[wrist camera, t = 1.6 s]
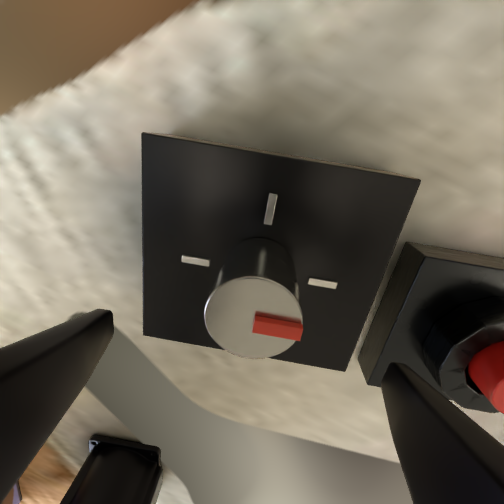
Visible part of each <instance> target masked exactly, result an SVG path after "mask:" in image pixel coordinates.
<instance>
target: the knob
mask: <svg viewBox="0 0 504 504" xmlns="http://www.w3.org/2000/svg"><path fill="white" fill-rule="evenodd" d="M204 320H205V325H206V328H207V330H208V333H209V334H210V336H211V337H212V339H213V340H214V341H215V342H216V343H217V344H218V345H219V346H220V347H222V348H223V349H224V350H226V351H228V352H230V353H232V354H234V355H237V356H240V357H244V358H250V359H263V358H269V357H272V356H276V355H278V354H280V353H282V352H284V351H286V350H287V349H288V348H290V347H291V346H292V345H293V344H294V342H295V341H300V339H301V335H302V332H303V314H302V307H301V301H300V295H299V288H298V282H297V276H296V269H295V264H294V261H293V259H292V256H291V255H290V253H289V252H288V251H287V250H286V249H285V248H284V247H283V246H282V245H280V244H279V243H277V242H275V241H273V240H270V239H266V238H251V239H247V240H244V241H242V242H240V243H238V244H236V245H235V246H234V247H233V248H232V249H231V250H230V251H229V252H228V254H227V256H226V258H225V260H224V262H223V265H222V267H221V269H220V272H219V274H218V276H217V279H216V281H215V283H214V286H213V288H212V290H211V293H210V295H209V297H208V300H207V302H206V305H205V309H204Z"/></svg>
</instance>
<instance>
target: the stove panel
mask: <svg viewBox="0 0 504 504" xmlns="http://www.w3.org/2000/svg"><path fill="white" fill-rule="evenodd" d="M141 139H142V256H143V335H145V336H150V337H156V338H161V339H167V340H172V341H178V342H183V343H189V344H194V345H200V346H205V347H211V348H216V349H222V350H224V349H223V348H222V347H220V346H219V345H218V344H217V343H216V342H215V341H214V340H213V339H212V337H211V336H210V334H209V333H208V330H207V328H206V325H205V320H204V309H205V305H206V302H207V300H208V297H209V295H210V293H211V290H212V288H213V286H214V283H215V281H216V279H217V276H218V274H219V272H220V269H221V267H222V265H223V262H224V260H225V258H226V256H227V254H228V252H229V251H230V250H231V249H232V248H233V247H234V246H235V245H236V244H238V243H240V242H242V241H244V240H247V239H251V238H266V239H270V240H273V241H275V242H277V243H279V244H280V245H282V246H283V247H284V248H285V249H286V250H287V251H288V252H289V253H290V255H291V256H292V259H293V261H294V264H295V269H296V276H297V282H298V288H299V295H300V301H301V307H302V314H303V332H302V335H301V339H300V341H295V342H294V344H293V345H292V346H291V347H290V348H288V349H287V350H286V351H284V352H282V353H280V354H278V355H276V356H272V357H269V358H272V359H277V360H283V361H288V362H294V363H299V364H305V365H310V366H316V367H321V368H327V369H332V370H338V371H343V372H345V371H346V368H347V366H348V363H349V361H350V358H351V356H352V353H353V351H354V348H355V346H356V343H357V341H358V338H359V336H360V333H361V331H362V328H363V326H364V323H365V321H366V318H367V316H368V313H369V311H370V308H371V306H372V303H373V301H374V298H375V295H376V293H377V290H378V288H379V285H380V283H381V280H382V278H383V275H384V273H385V270H386V268H387V265H388V263H389V260H390V258H391V255H392V253H393V250H394V248H395V245H396V243H397V240H398V238H399V235H400V233H401V230H402V228H403V225H404V223H405V220H406V218H407V215H408V213H409V210H410V208H411V205H412V203H413V200H414V197H415V195H416V192H417V190H418V187H419V185H420V182H421V180H420V179H416V178H412V177H409V176H405V175H401V174H397V173H393V172H388V171H382V170H376V169H370V168H364V167H358V166H353V165H347V164H341V163H335V162H329V161H323V160H317V159H311V158H305V157H300V156H294V155H288V154H282V153H276V152H270V151H264V150H258V149H252V148H247V147H241V146H235V145H229V144H223V143H217V142H211V141H205V140H199V139H194V138H188V137H182V136H176V135H170V134H159V133H145V132H143V133H142V134H141Z"/></svg>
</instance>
